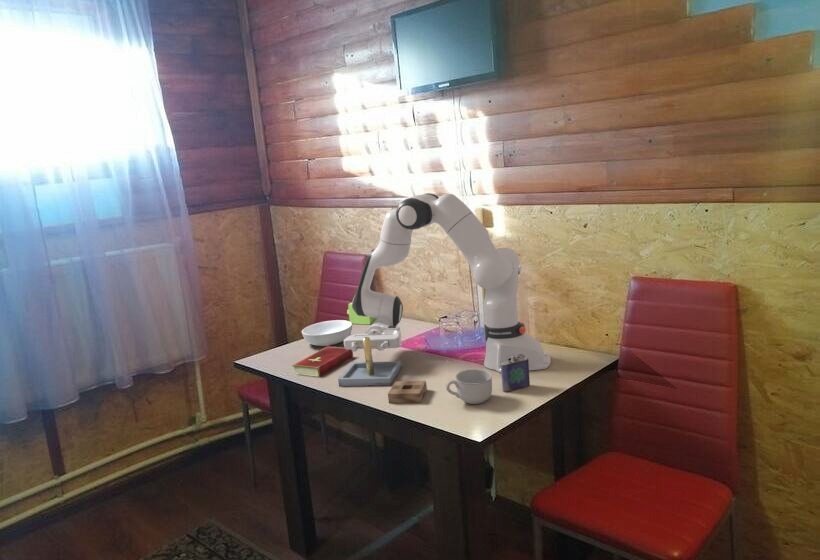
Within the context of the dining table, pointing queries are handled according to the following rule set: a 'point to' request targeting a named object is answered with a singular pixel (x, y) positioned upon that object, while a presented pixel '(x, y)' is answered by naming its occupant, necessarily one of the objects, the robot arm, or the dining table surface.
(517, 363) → the flask
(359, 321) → the gearbox
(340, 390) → the dining table surface
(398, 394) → the pin block
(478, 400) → the teacup
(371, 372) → the pin
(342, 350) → the hardcover book
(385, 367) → the tray
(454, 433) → the dining table surface
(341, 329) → the serving bowl
